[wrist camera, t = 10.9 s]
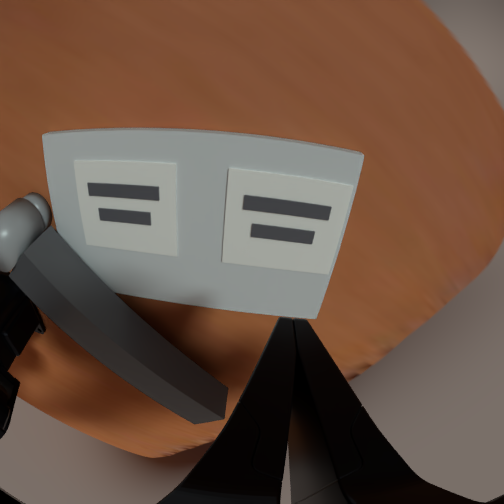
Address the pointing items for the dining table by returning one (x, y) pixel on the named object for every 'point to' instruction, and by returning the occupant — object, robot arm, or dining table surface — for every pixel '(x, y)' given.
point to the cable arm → (102, 318)
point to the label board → (202, 214)
